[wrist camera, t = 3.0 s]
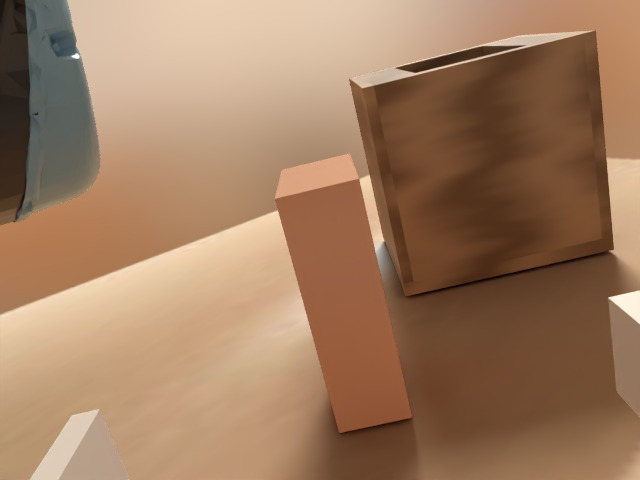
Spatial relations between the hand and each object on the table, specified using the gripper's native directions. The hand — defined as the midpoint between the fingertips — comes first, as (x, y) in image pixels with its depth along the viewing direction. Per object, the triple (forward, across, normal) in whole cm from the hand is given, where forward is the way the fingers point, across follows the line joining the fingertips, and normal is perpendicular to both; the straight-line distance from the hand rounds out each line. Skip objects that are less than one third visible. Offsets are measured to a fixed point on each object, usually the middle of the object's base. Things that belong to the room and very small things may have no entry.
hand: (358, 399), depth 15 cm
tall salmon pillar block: (+9, 0, -6) cm, 11 cm away
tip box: (+23, +9, -6) cm, 26 cm away
